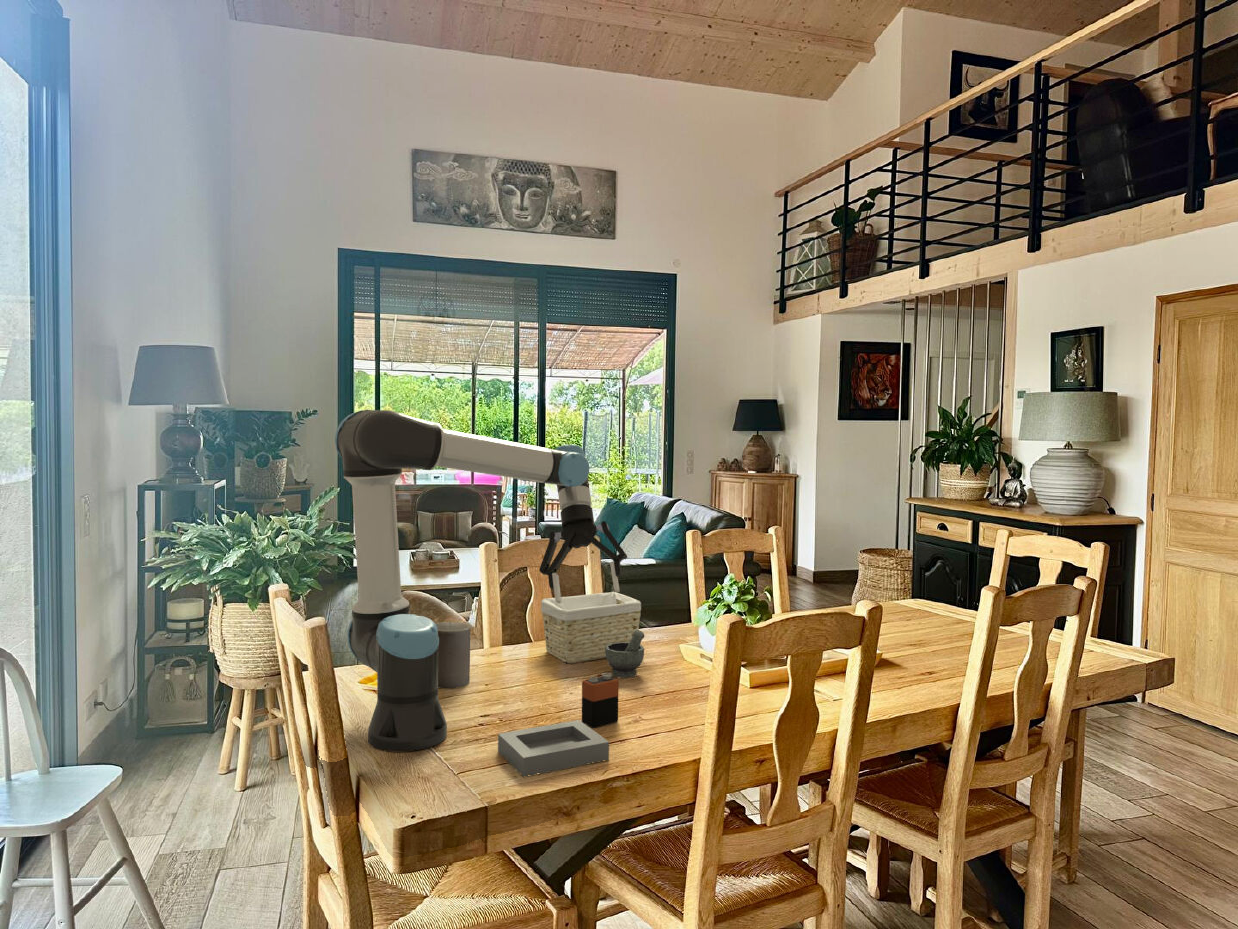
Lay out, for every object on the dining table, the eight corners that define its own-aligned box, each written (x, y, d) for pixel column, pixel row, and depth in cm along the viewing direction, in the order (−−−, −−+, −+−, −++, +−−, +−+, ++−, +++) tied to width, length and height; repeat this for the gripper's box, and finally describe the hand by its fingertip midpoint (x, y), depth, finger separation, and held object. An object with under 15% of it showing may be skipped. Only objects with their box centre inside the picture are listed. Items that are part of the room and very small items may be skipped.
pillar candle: (421, 686, 201) (422, 623, 200) (441, 674, 210) (442, 614, 210) (458, 691, 198) (459, 627, 197) (477, 679, 208) (478, 618, 207)
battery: (619, 722, 179) (619, 675, 178) (592, 729, 175) (593, 681, 174) (606, 716, 182) (607, 670, 182) (580, 723, 178) (581, 675, 178)
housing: (523, 777, 151) (523, 757, 150) (498, 751, 162) (498, 733, 162) (608, 760, 159) (609, 742, 158) (578, 737, 170) (579, 719, 170)
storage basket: (563, 666, 219) (563, 609, 218) (538, 651, 233) (538, 597, 233) (643, 655, 231) (644, 601, 230) (614, 641, 245) (615, 590, 244)
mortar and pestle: (597, 673, 213) (597, 626, 212) (624, 666, 219) (624, 620, 219) (628, 684, 205) (629, 634, 204) (655, 676, 211) (656, 628, 211)
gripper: (630, 503, 202) (644, 590, 193) (530, 523, 205) (539, 610, 197) (624, 492, 195) (638, 582, 187) (520, 514, 198) (529, 603, 190)
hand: (587, 596), depth 192 cm, fingers open, 13 cm apart
